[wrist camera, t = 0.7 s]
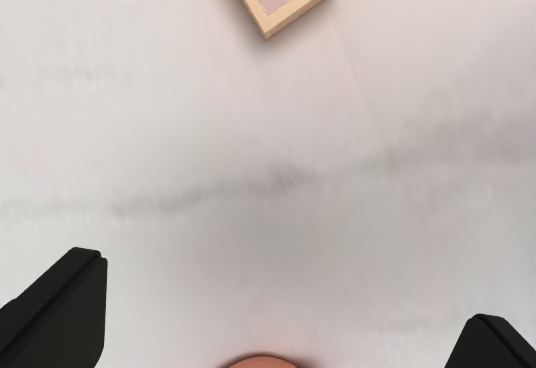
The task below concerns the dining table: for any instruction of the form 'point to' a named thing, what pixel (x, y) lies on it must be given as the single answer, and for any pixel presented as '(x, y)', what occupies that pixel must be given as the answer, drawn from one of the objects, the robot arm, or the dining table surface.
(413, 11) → the dining table surface
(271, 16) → the collar
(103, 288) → the robot arm
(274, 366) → the teapot
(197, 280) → the dining table surface
